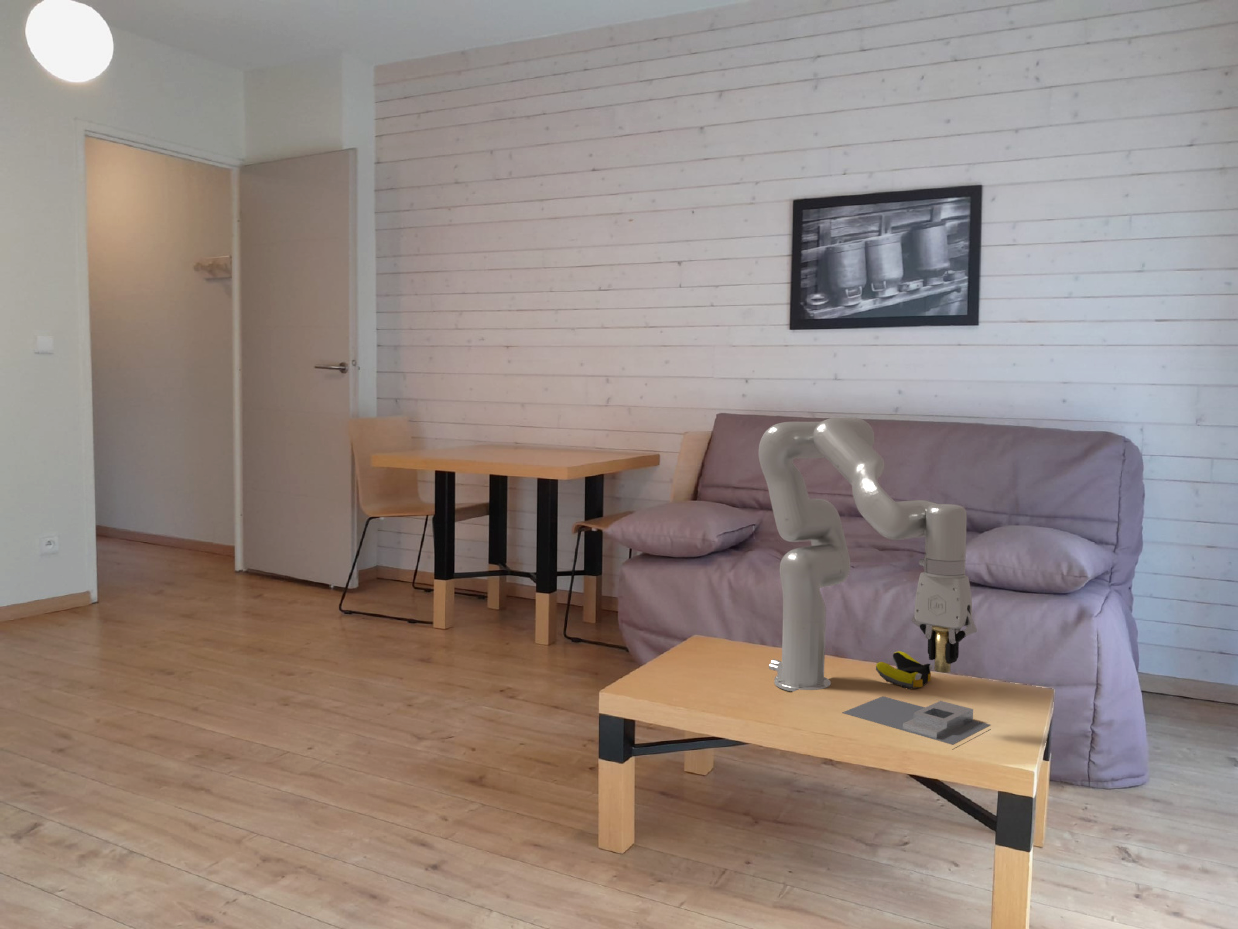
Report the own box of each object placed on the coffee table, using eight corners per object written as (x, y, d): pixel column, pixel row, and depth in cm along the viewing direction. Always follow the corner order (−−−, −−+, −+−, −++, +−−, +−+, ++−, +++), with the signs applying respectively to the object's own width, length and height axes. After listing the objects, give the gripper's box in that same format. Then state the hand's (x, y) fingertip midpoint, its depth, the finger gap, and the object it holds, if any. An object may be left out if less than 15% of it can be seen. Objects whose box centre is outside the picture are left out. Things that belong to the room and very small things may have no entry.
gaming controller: (872, 686, 216) (915, 694, 210) (872, 662, 216) (916, 670, 210) (895, 671, 228) (936, 679, 222) (895, 648, 228) (937, 655, 222)
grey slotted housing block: (902, 729, 185) (903, 717, 185) (940, 712, 195) (940, 700, 195) (936, 739, 180) (936, 726, 180) (972, 720, 190) (973, 709, 190)
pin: (926, 670, 186) (927, 625, 186) (937, 666, 189) (938, 621, 189) (947, 675, 183) (948, 629, 183) (958, 670, 186) (959, 625, 186)
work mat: (841, 717, 194) (841, 712, 194) (882, 700, 205) (882, 696, 205) (952, 749, 177) (952, 744, 177) (990, 729, 188) (990, 724, 188)
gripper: (897, 564, 188) (895, 656, 189) (976, 575, 177) (974, 672, 178) (916, 560, 194) (914, 649, 195) (994, 570, 182) (991, 665, 183)
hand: (942, 659), depth 186 cm, fingers closed on pin, 3 cm apart
